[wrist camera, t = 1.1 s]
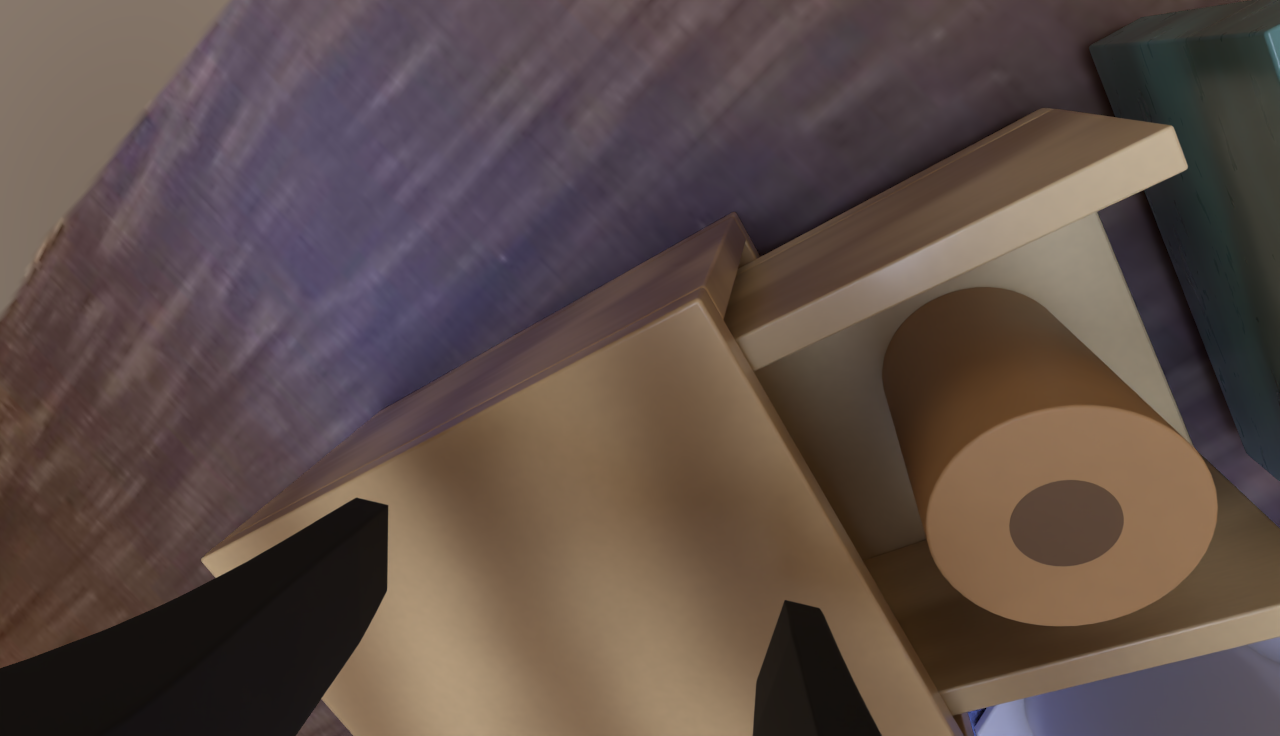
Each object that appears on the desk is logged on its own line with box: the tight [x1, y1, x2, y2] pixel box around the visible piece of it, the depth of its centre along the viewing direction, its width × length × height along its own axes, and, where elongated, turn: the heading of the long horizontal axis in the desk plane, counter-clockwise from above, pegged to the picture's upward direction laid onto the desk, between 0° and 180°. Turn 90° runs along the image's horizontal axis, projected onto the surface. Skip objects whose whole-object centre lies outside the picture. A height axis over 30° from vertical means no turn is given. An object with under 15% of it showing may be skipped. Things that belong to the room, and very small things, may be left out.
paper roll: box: [882, 287, 1218, 626], centre depth 15 cm, size 5×5×7 cm
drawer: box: [723, 0, 1280, 716], centre depth 16 cm, size 18×12×7 cm
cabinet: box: [201, 212, 974, 736], centre depth 20 cm, size 15×13×9 cm
